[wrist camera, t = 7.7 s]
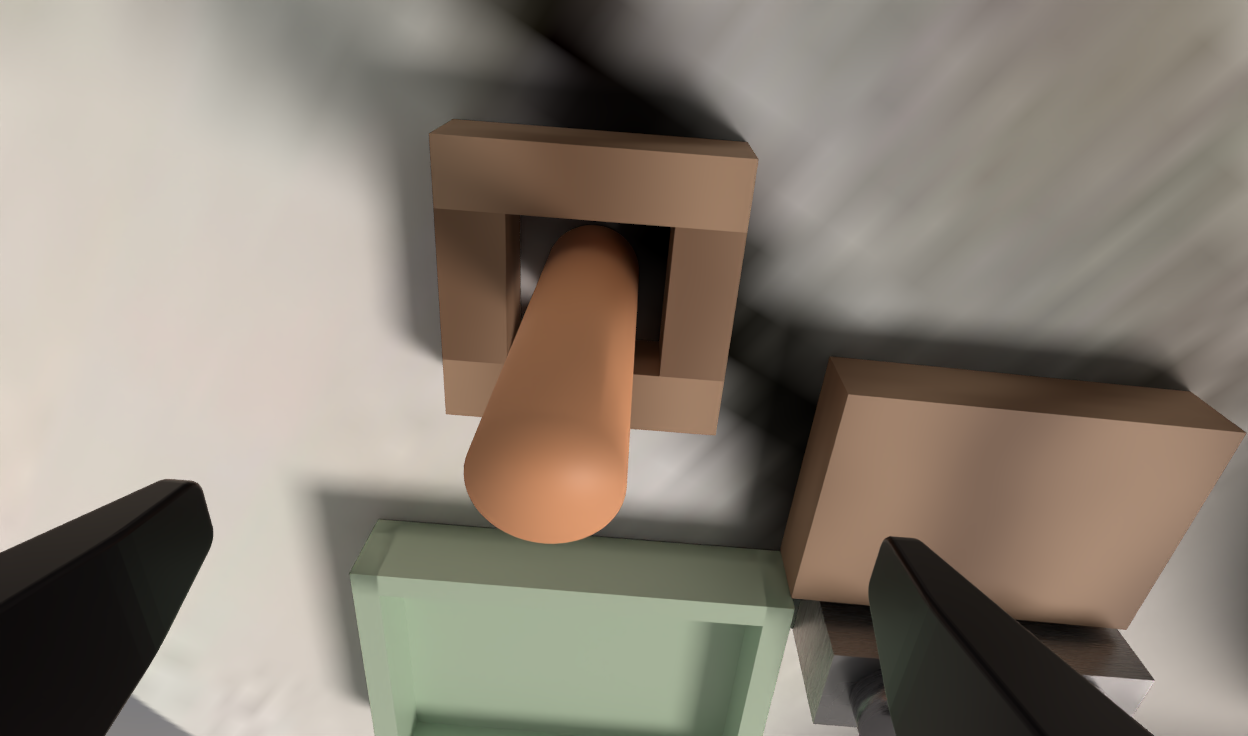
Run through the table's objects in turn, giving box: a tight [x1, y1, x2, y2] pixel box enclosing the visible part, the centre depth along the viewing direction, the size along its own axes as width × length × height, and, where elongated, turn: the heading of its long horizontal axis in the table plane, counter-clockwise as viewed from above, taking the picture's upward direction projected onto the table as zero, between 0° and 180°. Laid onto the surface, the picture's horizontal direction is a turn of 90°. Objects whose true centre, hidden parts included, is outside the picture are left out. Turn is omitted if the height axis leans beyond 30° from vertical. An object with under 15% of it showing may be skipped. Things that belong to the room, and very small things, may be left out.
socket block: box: [429, 119, 758, 435], centre depth 17 cm, size 7×7×2 cm
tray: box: [349, 519, 795, 736], centre depth 24 cm, size 13×10×2 cm
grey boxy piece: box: [793, 599, 1155, 736], centre depth 21 cm, size 9×3×5 cm, turn 86°
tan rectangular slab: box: [780, 356, 1246, 630], centre depth 20 cm, size 10×7×2 cm
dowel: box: [464, 225, 639, 544], centre depth 14 cm, size 2×2×9 cm
